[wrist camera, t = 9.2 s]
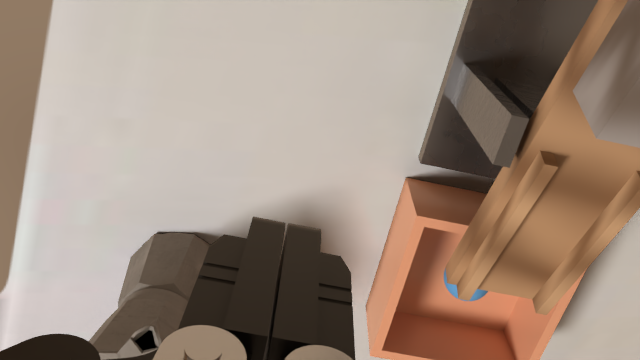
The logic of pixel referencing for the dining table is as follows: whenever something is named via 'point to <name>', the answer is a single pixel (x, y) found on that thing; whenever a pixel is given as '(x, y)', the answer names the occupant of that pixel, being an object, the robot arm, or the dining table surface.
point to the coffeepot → (152, 295)
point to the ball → (453, 291)
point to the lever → (564, 172)
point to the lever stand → (498, 80)
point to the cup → (445, 290)
